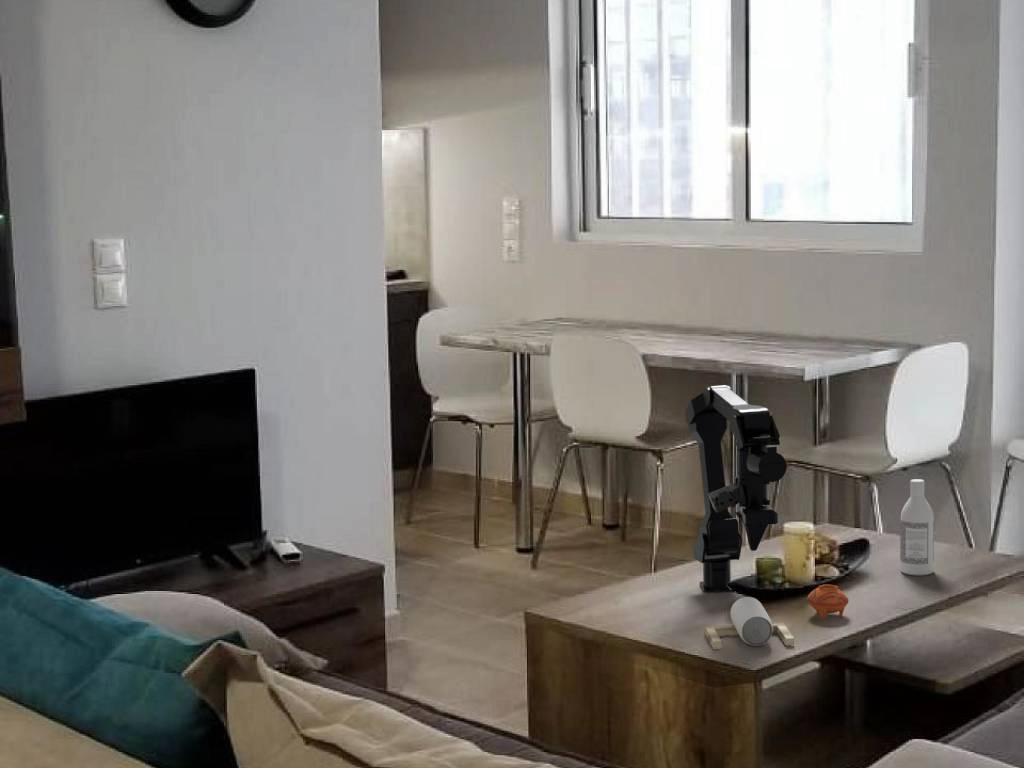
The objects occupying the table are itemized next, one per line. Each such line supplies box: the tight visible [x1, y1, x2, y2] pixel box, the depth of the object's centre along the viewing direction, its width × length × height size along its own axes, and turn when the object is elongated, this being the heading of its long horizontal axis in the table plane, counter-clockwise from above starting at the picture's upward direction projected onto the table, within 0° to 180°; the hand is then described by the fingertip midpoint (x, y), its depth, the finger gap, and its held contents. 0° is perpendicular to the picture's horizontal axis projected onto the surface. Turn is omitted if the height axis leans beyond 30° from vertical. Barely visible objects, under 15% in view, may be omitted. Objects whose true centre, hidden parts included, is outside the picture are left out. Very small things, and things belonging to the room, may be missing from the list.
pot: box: [806, 583, 850, 621], centre depth 319 cm, size 8×8×7 cm
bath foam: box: [899, 478, 935, 576], centre depth 347 cm, size 7×7×20 cm
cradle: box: [704, 622, 795, 650], centre depth 305 cm, size 10×15×2 cm, turn 92°
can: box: [730, 596, 773, 647], centre depth 306 cm, size 6×6×12 cm
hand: (753, 550), depth 320 cm, fingers closed
